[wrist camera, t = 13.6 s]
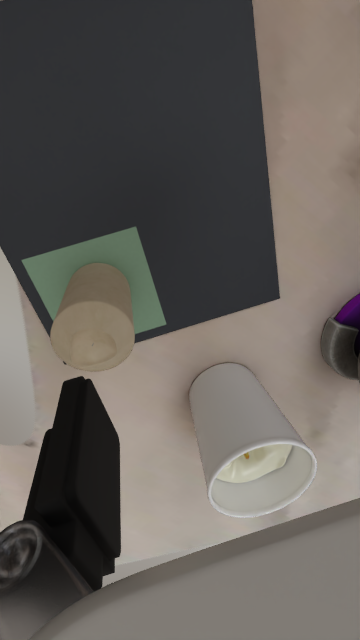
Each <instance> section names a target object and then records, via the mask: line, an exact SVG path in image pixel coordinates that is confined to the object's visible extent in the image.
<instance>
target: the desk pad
mask: <svg viewBox="0 0 360 640" xmlns="http://www.w3.org/2000/svg"><path fill="white" fill-rule="evenodd" d="M0 247H1V249H2V250H3V252H4V254H5V256H6V258H7V260H8V262H9V263H10V265H11V267H12V269H13V271H14V273H15V274H16V276H17V278H18V280H19V282H20V284H21V285H22V287H23V289H24V291H25V293H26V295H27V296H28V298H29V300H30V302H31V304H32V305H33V307H34V309H35V311H36V313H37V315H38V316H39V318H40V320H41V322H42V324H43V326H44V327H45V329H46V331H47V333H48V335H49V337H50V334H51V328H52V325H53V322H54V319H55V317H56V314H57V312H58V309H59V306H60V304H61V301H62V299H63V296H64V293H65V291H66V288H67V286H68V283H69V281H70V279H71V277H72V275H73V274H74V273H75V272H76V271H77V270H78V269H80V268H81V267H83V266H85V265H88V264H91V263H105V264H108V265H111V266H113V267H115V268H117V269H118V270H119V271H121V273H122V274H123V275H124V276H125V277H126V279H127V281H128V283H129V286H130V292H131V302H132V312H133V322H134V333H135V341H134V343H137V342H140V341H143V340H146V339H150V338H153V337H156V336H159V335H163V334H166V333H169V332H172V331H175V330H179V329H182V328H185V327H188V326H192V325H195V324H198V323H201V322H205V321H208V320H211V319H214V318H218V317H221V316H224V315H227V314H231V313H234V312H237V311H240V310H243V309H247V308H250V307H253V306H256V305H260V304H263V303H266V302H269V301H273V300H276V299H279V298H280V295H279V284H278V273H277V263H276V252H275V241H274V231H273V220H272V210H271V199H270V188H269V178H268V167H267V156H266V146H265V135H264V124H263V114H262V103H261V92H260V82H259V71H258V60H257V50H256V39H255V28H254V18H253V7H252V0H2V1H0ZM63 362H64V361H63ZM64 364H66V363H65V362H64Z"/></svg>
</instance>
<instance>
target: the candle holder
mask: <svg viewBox="0 0 360 640" xmlns="http://www.w3.org/2000/svg"><path fill="white" fill-rule="evenodd" d="M189 402H190V408H191V413H192V418H193V423H194V428H195V433H196V438H197V442H198V447H199V452H200V457H201V462H202V466H203V471H204V476H205V481H206V486H207V495H208V499H209V501H210V503H211V505H212V506H213V507H214V508H215V509H216V510H217V511H218V512H220V513H222V514H224V515H227V516H231V517H237V518H249V517H257V516H261V515H265V514H269V513H271V512H274V511H277V510H279V509H281V508H283V507H285V506H287V505H288V504H290V503H292V502H293V501H294V500H296V499H297V498H298V497H300V496H301V495H302V494H303V493H304V492H305V491H306V490H307V488H308V487H309V486H310V485H311V483H312V481H313V479H314V477H315V475H316V471H317V460H316V457H315V455H314V453H313V452H312V450H311V449H310V448H309V447H308V446H307V445H306V444H305V442H304V441H303V440H302V438H301V437H300V436H299V434H298V433H297V432H296V430H295V429H294V427H293V426H292V425H291V423H290V422H289V421H288V419H287V418H286V417H285V415H284V414H283V413H282V411H281V410H280V408H279V407H278V406H277V404H276V403H275V402H274V400H273V399H272V398H271V396H270V395H269V394H268V392H267V391H266V390H265V388H264V387H263V386H262V384H261V383H260V382H259V380H258V379H257V378H256V376H255V375H254V374H253V373H252V372H251V371H250V370H249V369H248V368H246V367H245V366H243V365H240V364H236V363H223V364H218V365H215V366H213V367H210V368H208V369H207V370H205V371H204V372H202V373H201V374H200V375H199V376H198V377H197V378H196V379H195V381H194V382H193V384H192V386H191V388H190V392H189Z"/></svg>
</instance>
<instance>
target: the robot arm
mask: <svg viewBox="0 0 360 640" xmlns="http://www.w3.org/2000/svg"><path fill="white" fill-rule="evenodd" d="M120 552H121V525H120V443H119V437H118V434H117V432H116V430H115V428H114V426H113V424H112V422H111V420H110V418H109V416H108V414H107V411H106V409H105V407H104V405H103V403H102V401H101V399H100V397H99V395H98V393H97V391H96V389H95V387H94V385H93V383H92V381H91V380H90V379H86V380H85V378H84V377H83V376H80V377H77V378H73V379H70V380H66V381H64V382H63V385H62V389H61V394H60V398H59V402H58V407H57V411H56V415H55V419H54V424H53V428H52V429H49V430H47V432H46V433H45V436H44V439H43V443H42V447H41V451H40V455H39V459H38V463H37V467H36V471H35V474H34V478H33V482H32V486H31V490H30V494H29V498H28V502H27V506H26V510H25V514H24V518H23V520H22V521H18V522H16V523H14V524H12V525H10V526H8V527H7V528H5V529H4V530H3V531H2V532H0V640H360V498H358V499H355V500H352V501H349V502H346V503H343V504H340V505H337V506H333V507H330V508H327V509H324V510H321V511H318V512H315V513H312V514H309V515H306V516H303V517H300V518H297V519H294V520H291V521H288V522H285V523H281V524H278V525H275V526H272V527H269V528H266V529H263V530H260V531H257V532H254V533H251V534H248V535H245V536H242V537H239V538H236V539H233V540H230V541H227V542H224V543H221V544H218V545H215V546H212V547H209V548H206V549H203V550H200V551H197V552H194V553H192V554H189V555H186V556H183V557H180V558H178V559H174V560H172V561H169V562H166V563H163V564H160V565H158V566H154V567H152V568H149V569H146V570H143V571H141V572H138V573H136V574H133V575H131V576H128V577H126V578H124V579H121V580H119V581H116V582H114V583H111V584H109V585H107V586H105V587H103V588H101V587H102V578H103V576H105V575H108V574H111V573H114V572H115V558H117V557H119V556H120Z"/></svg>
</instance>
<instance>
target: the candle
mask: <svg viewBox="0 0 360 640" xmlns="http://www.w3.org/2000/svg"><path fill="white" fill-rule="evenodd" d="M50 338H51V344H52V347H53V349H54V351H55V353H56V354H57V355H58V357H59V358H60V359H61V360H62V361H64V362H65V363H66V364H68V365H70V366H71V367H74V368H76V369H79V370H83V371H90V372H97V371H104V370H108V369H111V368H113V367H115V366H117V365H119V364H120V363H122V362H123V361H124V360H125V359H126V358H127V357H128V355H129V354H130V352H131V351H132V348H133V346H134V341H135V333H134V322H133V312H132V302H131V292H130V286H129V283H128V281H127V279H126V277H125V276H124V275H123V274H122V273H121V271H119V270H118V269H117V268H115V267H113V266H111V265H108V264H105V263H91V264H88V265H85V266H83V267H81V268H80V269H78V270H77V271H76V272H75V273H74V274H73V275H72V277H71V279H70V281H69V283H68V286H67V288H66V291H65V293H64V296H63V299H62V301H61V304H60V306H59V309H58V312H57V314H56V317H55V319H54V322H53V325H52V328H51V334H50Z"/></svg>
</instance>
